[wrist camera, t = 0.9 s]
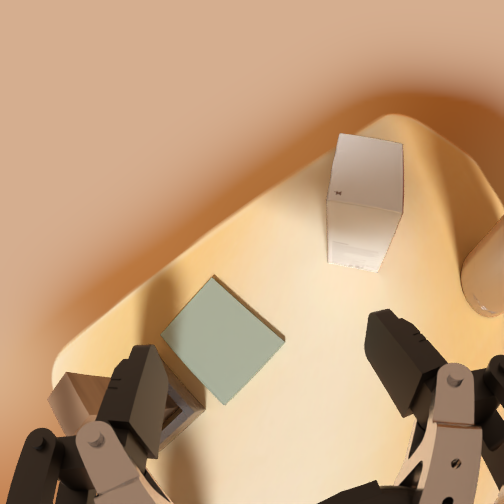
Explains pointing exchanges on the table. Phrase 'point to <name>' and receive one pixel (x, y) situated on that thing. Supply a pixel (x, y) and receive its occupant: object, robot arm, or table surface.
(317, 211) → the table surface
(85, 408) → the walnut post
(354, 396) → the table surface
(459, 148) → the table surface
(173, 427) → the holder
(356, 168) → the small box
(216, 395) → the mat
